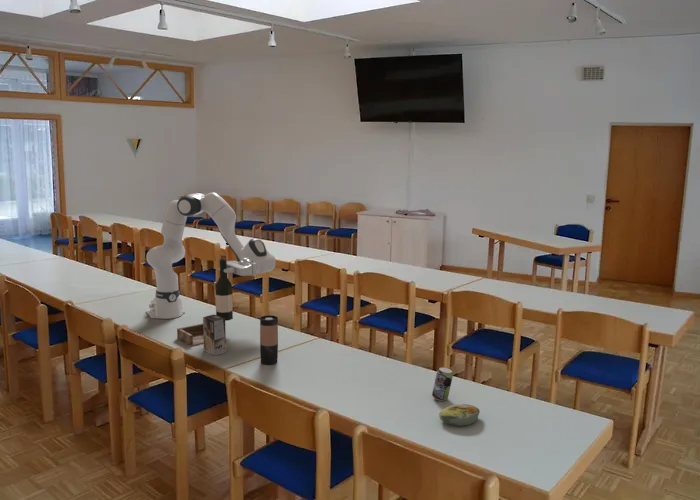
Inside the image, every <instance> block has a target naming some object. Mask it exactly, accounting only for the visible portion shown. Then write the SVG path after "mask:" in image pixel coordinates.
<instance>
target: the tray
mask: <svg viewBox="0 0 700 500" xmlns="http://www.w3.org/2000/svg"><path fill="white" fill-rule="evenodd" d="M176 332H177V334H176V337H177V340H180V341H181V342H183V344H186V345H187V346H189V345H190V346H189V347H195V345H196V346H200V344H201V345H204V334H203V323H200V324H199V323H198V324H192V325H187V326H183V327H178V328H177V329H176Z"/></svg>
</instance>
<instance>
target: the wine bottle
mask: <svg viewBox="0 0 700 500" xmlns="http://www.w3.org/2000/svg"><path fill="white" fill-rule="evenodd" d="M227 261H228V260H227V259H226V257H221V258H220V259H219V267H220V271H219V278H218V280H217V281H216V283H215V285H214V286H215V315H217V316H220V317H222V318H225V322H226V321H231V320H233V319H234V316H233V313H234V310H233V309H234V307H233V285H232V282H231V281H230V279H229V278H228V273H225V272H223V271H224V270H223V269H225V268H227Z"/></svg>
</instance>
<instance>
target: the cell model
mask: <svg viewBox="0 0 700 500" xmlns="http://www.w3.org/2000/svg"><path fill="white" fill-rule="evenodd" d="M480 411H481V410H480V409H479V408H478V407H477V406H475V405H471V404H466V403H457V404H451V405H449V406H447V407H445V408H443V409H441V410H440V412H439V414H438V416H439V419H440V420H441V421H442V422H444V423H445V424H449V425H452V426H468V425H471V424H474V423H475V422H476V421H477V420H478V418H479V415H480Z"/></svg>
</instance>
